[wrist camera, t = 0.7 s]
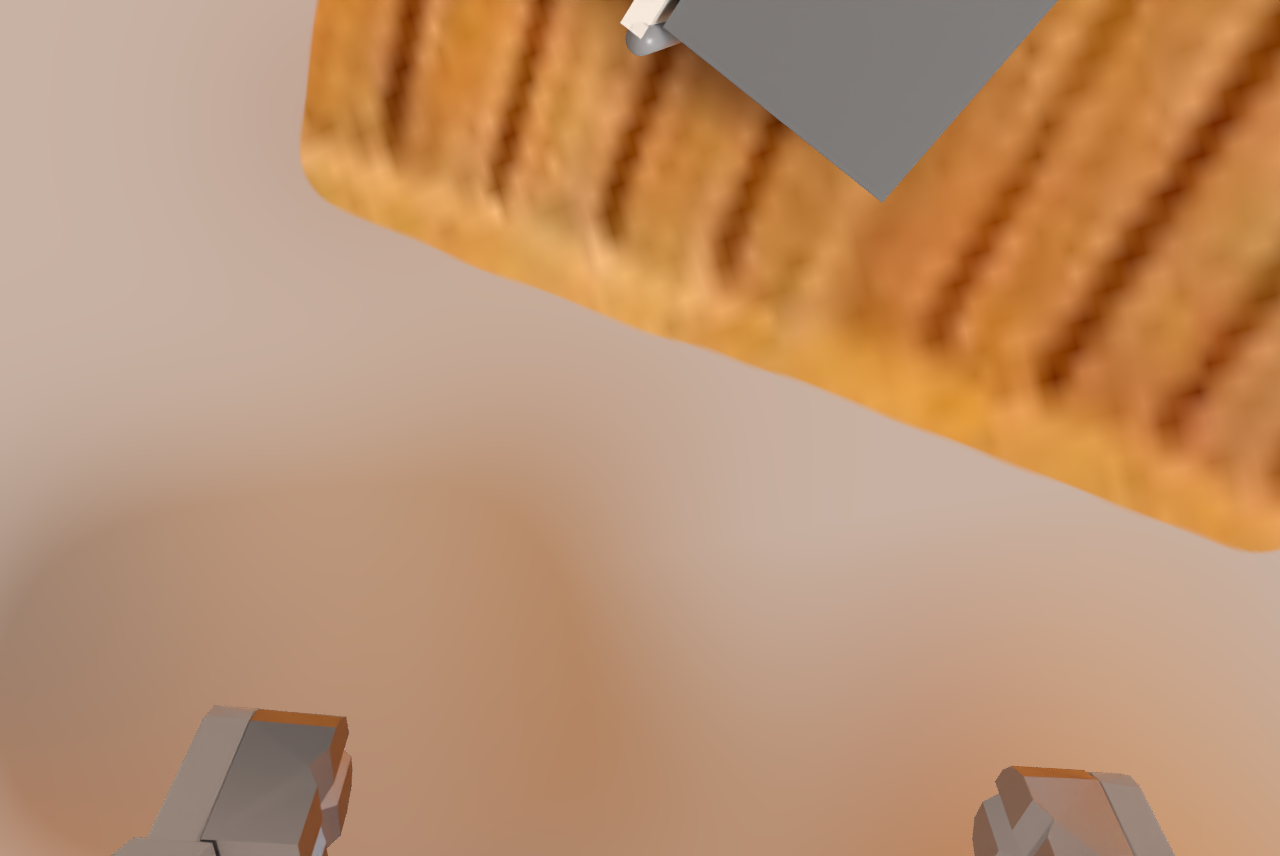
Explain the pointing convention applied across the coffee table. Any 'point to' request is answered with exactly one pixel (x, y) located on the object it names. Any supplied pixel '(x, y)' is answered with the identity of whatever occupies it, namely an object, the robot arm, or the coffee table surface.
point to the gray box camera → (859, 68)
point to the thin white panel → (649, 26)
